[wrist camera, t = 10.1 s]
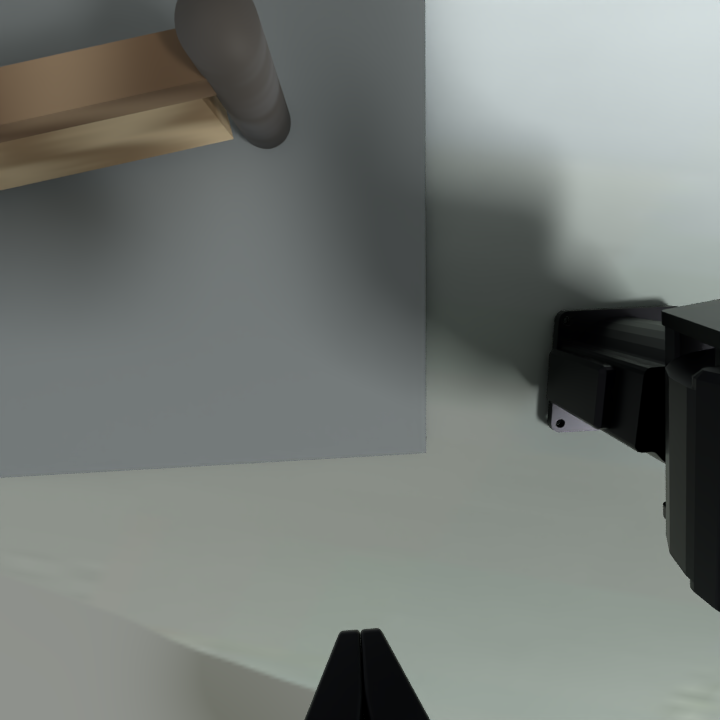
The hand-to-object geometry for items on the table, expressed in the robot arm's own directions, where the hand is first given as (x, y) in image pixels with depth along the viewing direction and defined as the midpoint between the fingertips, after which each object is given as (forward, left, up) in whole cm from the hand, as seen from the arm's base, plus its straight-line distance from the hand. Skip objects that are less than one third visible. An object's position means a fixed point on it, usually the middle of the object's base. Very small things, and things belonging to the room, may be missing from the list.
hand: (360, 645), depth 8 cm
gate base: (+8, -8, -13) cm, 17 cm away
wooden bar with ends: (+10, -13, -12) cm, 20 cm away
